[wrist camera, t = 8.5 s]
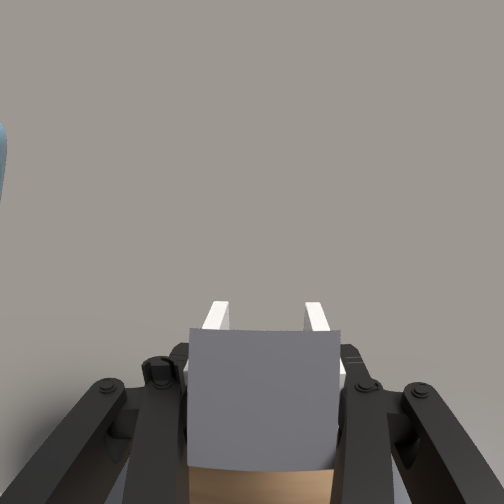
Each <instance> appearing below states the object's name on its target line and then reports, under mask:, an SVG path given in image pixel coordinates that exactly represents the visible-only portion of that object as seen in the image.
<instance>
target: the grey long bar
mask: <svg viewBox="0 0 504 504" xmlns="http://www.w3.org/2000/svg"><path fill="white" fill-rule="evenodd" d="M339 387H340V330H338V331H245V330H218V329H197V328H190V334H189V358H188V396H187V464H188V466H194V467H202V468H211V469H222V470H236V471H258V472H297V471H319V470H332V469H334V466H335V455H336V442H337V427H338V411H339Z"/></svg>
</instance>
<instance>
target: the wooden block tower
mask: <svg viewBox="0 0 504 504" xmlns="http://www.w3.org/2000/svg"><path fill="white" fill-rule="evenodd" d="M333 472H334V469H332V470H319V471H297V472H258V471H236V470H222V469H211V468H202V467H194V466H189V498H190V504H330V497H331V489H332V481H333Z"/></svg>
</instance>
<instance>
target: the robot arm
mask: <svg viewBox="0 0 504 504" xmlns="http://www.w3.org/2000/svg"><path fill="white" fill-rule="evenodd" d="M6 155H7V140H6V134H5V130H4V128H3V126H2V124H1V123H0V199H1V193H2V186H3V179H4V173H5V165H6ZM228 303H229V302H223V301H222V302H221V301H214V303H213V305H212V308H211V310H210V312H209V314H208V316H207V318H206V321H205V323H204V325H203V327H202V329H218V330H229V306H228V305H229V304H228ZM304 331H330V328H329V326H328V323H327V320H326V318H325V315H324V312H323V310H322V307H321V305H320V303H319V302H318V303H305V318H304ZM188 358H189V343H180V344H178V345H177V346H175V347H174V348H173V350H172V352H171V353H170V355H169V357H167V356H157V357H152V358H149V359H147V360H146V361H144V362H143V364H142V371H143V376H144V381H145V386H144V387H139V388H125V387H124V383H123V382H122V381H121V380H119V379H116V378H104V379H101V380H99V381H97V382H95V383H94V384H93V385H92V386H91V387H90V389H89V390H88V391H87V392H86V393H85V394H84V395H83V397H82V398H81V399H80V400H79V401H78V402H77V404H76V405H75V406H74V407H73V408H72V410H71V411H70V412H69V413H68V414H67V416H66V417H65V418H64V419H63V420H62V422H61V423H60V424H59V425H58V426H57V427H56V429H55V430H54V431H53V432H52V434H51V435H50V436H49V437H48V438H47V439H46V441H45V442H44V443H43V445H41V447H40V448H39V449H38V450H37V452H36V453H35V454H34V455H33V456H32V458H31V459H30V460H29V461H28V463H27V464H26V465H25V466H24V468H23V469H22V470H21V471H20V473H19V474H18V475H17V476H16V478H15V479H14V480H13V481H12V483H11V484H10V485H9V487H8V488H7V489H6V490H5V492H4V493H3V494H2V495H1V497H0V504H104V502H105V501H106V499H107V497H108V495H109V493H110V491H111V489H112V487H113V485H114V484H115V482H116V480H117V478H118V476H119V474H120V472H121V470H122V468H123V467H124V465H125V463H126V461H127V459H128V457H129V455H130V459H129V464H128V470H127V476H126V482H125V487H124V494H123V500H122V504H190V498H189V466H188V464H187V396H188ZM338 425H339V429H338V433H337V442H336V455H335V466H334V472H333V481H332V489H331V497H330V504H394V488H393V472H392V459H391V454H392V456H393V459H394V461H395V463H396V466H397V468H398V471H399V473H400V475H401V477H402V480H403V483H404V485H405V488H406V490H407V493H408V495H409V497H410V500H411V502H412V504H504V489H503V487H502V485H501V484H500V482H499V480H498V479H497V478H496V476H495V474H494V473H493V471H492V470H491V468H490V467H489V465H488V464H487V462H486V460H485V459H484V457H483V456H482V454H481V453H480V451H479V450H478V449H477V447H476V446H475V444H474V443H473V441H472V440H471V438H470V437H469V436H468V434H467V433H466V431H465V430H464V428H463V427H462V426H461V424H460V423H459V421H458V420H457V418H456V417H455V416H454V414H453V413H452V411H451V410H450V409H449V407H448V406H447V405H446V403H445V402H444V401H443V399H442V398H441V397H440V395H439V394H438V392H437V391H436V390H435V389H434V388H433V387H432V386H430V385H428V384H426V383H421V382H414V383H411V384H408V385H407V386H406V387H405V389H404V392H393V391H387V390H384V389H383V387H382V385H381V383H379V382H378V381H377V380H374V379H372V378H371V377H370V375H369V373H368V370H367V369H366V366H365V364H364V362H363V360H362V358H361V355H360V353H359V351H358V349H356V348H355V347H354V346H352V345H351V344H344V345H343V344H342V345H340V387H339V411H338Z"/></svg>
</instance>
